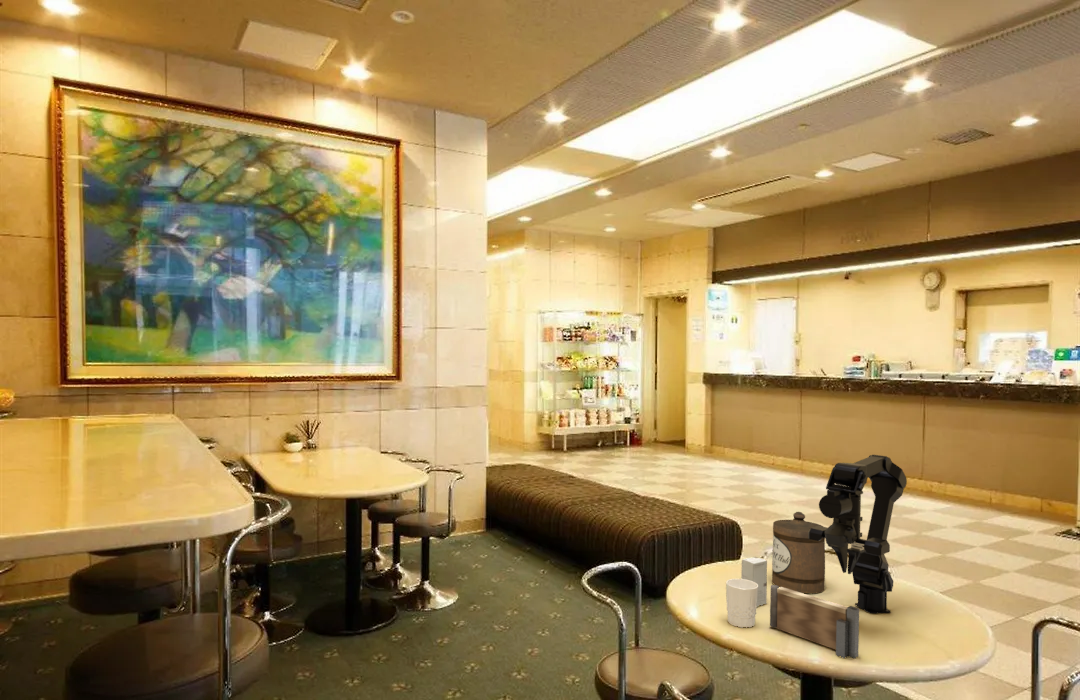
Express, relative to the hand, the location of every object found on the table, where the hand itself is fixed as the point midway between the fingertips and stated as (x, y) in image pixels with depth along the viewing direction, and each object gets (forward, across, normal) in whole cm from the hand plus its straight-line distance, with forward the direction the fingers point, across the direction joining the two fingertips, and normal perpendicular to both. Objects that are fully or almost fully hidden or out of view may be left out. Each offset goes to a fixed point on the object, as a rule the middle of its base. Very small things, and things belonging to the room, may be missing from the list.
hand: (847, 573), depth 170 cm
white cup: (+13, -17, -22) cm, 30 cm away
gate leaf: (+13, -1, -18) cm, 22 cm away
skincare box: (+13, -22, -7) cm, 27 cm away
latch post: (+13, +9, -19) cm, 24 cm away
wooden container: (+13, -22, +17) cm, 31 cm away
